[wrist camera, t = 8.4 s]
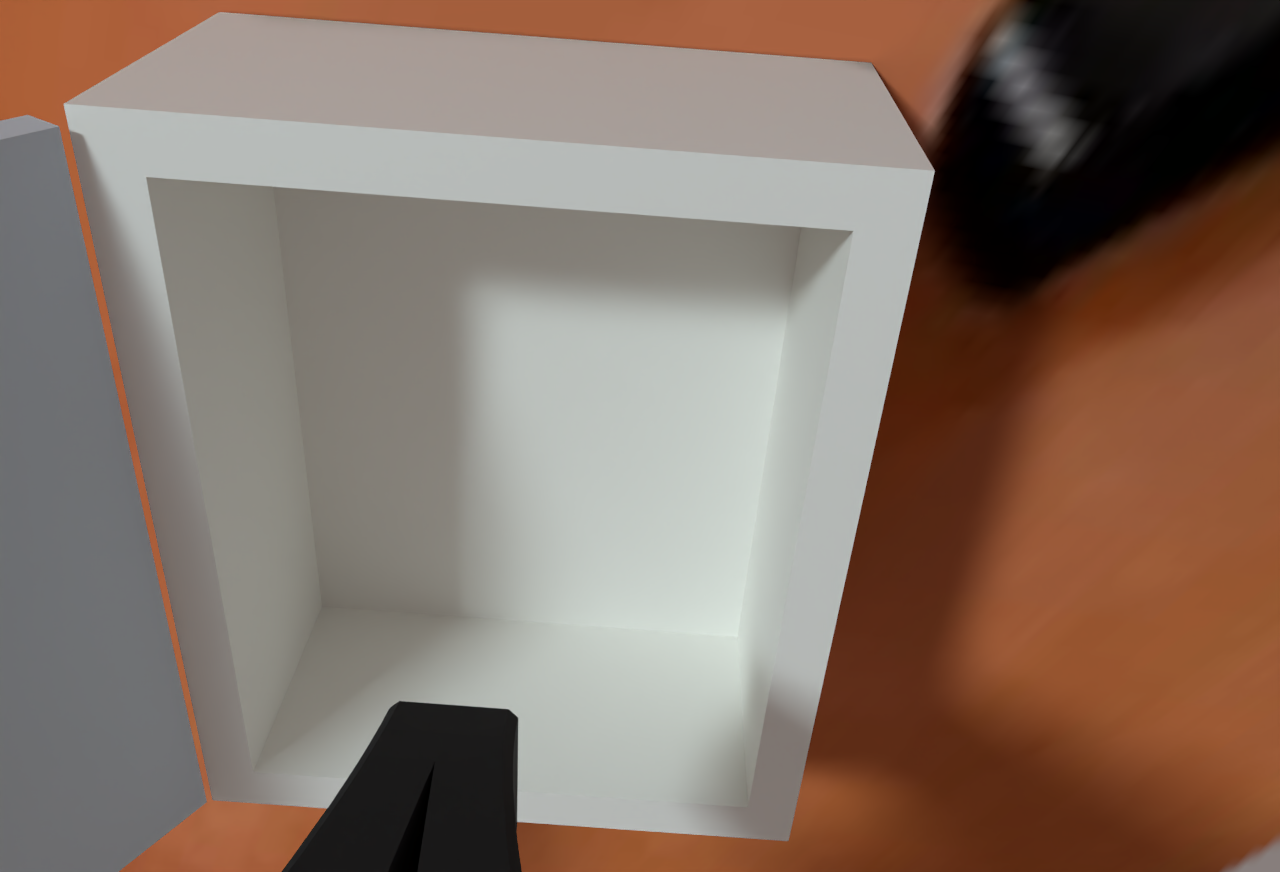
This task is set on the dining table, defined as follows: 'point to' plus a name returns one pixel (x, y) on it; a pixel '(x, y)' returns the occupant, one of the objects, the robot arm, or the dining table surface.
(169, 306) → the carton
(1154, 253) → the dining table surface
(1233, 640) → the dining table surface
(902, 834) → the dining table surface
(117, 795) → the carton flap
